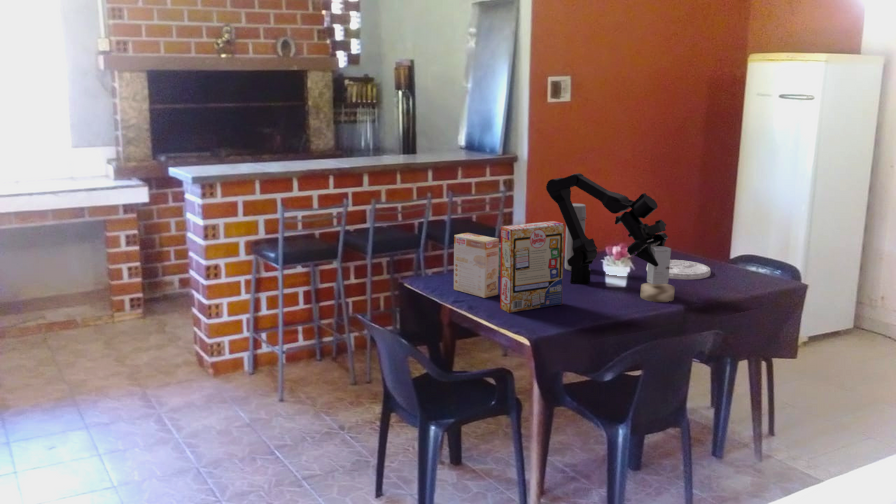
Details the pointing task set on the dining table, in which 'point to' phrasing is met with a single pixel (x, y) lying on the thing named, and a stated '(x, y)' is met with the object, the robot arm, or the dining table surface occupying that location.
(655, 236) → the robot arm
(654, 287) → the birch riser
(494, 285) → the coffeecake box
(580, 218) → the water bottle
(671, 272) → the medallion
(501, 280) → the board game box
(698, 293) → the dining table surface
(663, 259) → the skincare box
